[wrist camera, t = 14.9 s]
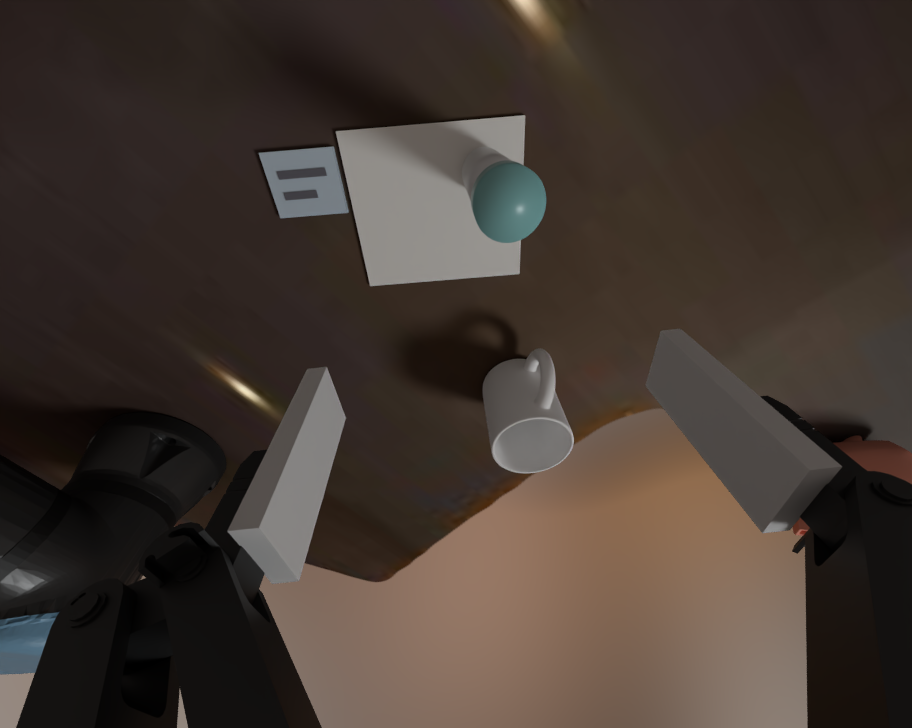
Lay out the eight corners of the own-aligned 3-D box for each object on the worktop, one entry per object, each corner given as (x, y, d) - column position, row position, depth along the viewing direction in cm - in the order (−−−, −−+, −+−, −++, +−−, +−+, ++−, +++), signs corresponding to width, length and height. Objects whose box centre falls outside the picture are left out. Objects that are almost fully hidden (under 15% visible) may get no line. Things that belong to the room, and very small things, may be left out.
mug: (501, 322, 39) (518, 380, 30) (570, 335, 40) (605, 394, 32) (474, 403, 46) (482, 469, 37) (534, 412, 47) (555, 477, 38)
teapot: (725, 489, 59) (796, 581, 47) (758, 435, 51) (851, 529, 40) (858, 479, 59) (962, 569, 47) (911, 424, 51) (1048, 515, 40)
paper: (370, 284, 36) (370, 286, 35) (336, 131, 28) (335, 131, 28) (518, 272, 36) (519, 273, 35) (524, 115, 28) (525, 115, 28)
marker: (461, 197, 31) (475, 246, 20) (458, 146, 29) (471, 168, 17) (504, 193, 31) (543, 239, 20) (504, 142, 29) (548, 161, 17)
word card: (282, 217, 32) (280, 218, 31) (260, 152, 29) (257, 153, 28) (348, 211, 32) (347, 213, 31) (333, 146, 29) (332, 146, 28)
